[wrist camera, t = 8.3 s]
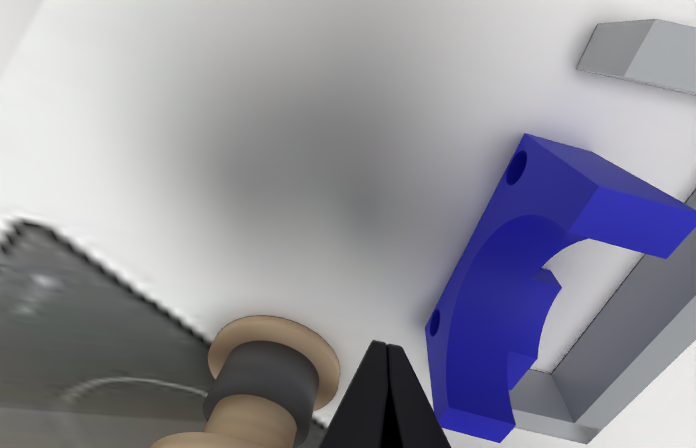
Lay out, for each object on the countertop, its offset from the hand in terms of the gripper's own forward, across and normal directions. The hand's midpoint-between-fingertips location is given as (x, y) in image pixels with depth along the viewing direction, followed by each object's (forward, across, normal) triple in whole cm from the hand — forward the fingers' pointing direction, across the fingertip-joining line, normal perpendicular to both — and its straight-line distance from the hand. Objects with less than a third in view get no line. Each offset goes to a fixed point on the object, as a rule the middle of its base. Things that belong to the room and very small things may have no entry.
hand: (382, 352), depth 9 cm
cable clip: (+9, -7, +1) cm, 11 cm away
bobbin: (+8, +4, +13) cm, 16 cm away
